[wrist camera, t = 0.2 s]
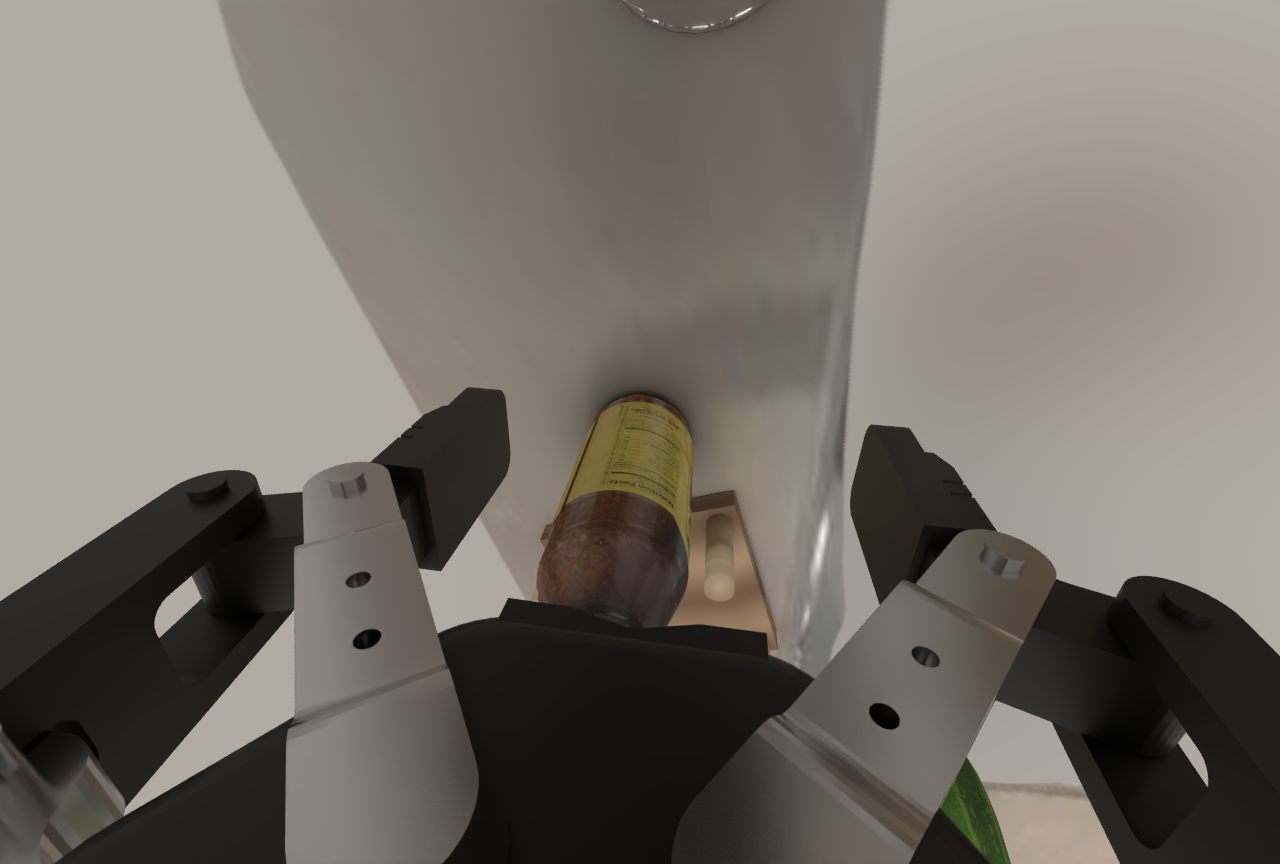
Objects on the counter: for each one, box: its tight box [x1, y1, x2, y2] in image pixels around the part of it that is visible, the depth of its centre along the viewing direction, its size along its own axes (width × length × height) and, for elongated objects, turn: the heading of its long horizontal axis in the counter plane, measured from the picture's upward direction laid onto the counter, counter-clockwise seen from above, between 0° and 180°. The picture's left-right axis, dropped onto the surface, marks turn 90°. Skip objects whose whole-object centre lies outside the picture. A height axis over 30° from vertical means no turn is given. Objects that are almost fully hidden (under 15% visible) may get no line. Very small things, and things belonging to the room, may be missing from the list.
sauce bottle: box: [536, 394, 693, 628], centre depth 25 cm, size 7×6×20 cm
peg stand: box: [531, 491, 778, 655], centre depth 36 cm, size 13×13×7 cm
